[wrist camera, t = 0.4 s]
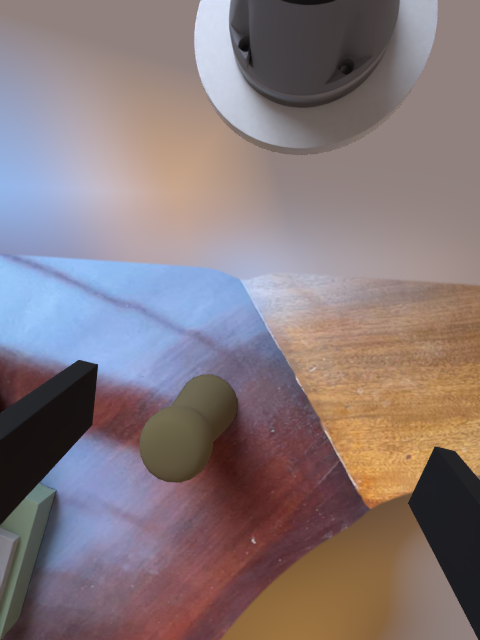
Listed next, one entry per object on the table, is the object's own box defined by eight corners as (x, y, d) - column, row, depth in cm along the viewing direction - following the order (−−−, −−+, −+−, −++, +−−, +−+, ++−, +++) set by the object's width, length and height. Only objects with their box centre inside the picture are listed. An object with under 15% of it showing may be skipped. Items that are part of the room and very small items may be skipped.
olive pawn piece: (250, 404, 31) (231, 455, 20) (209, 446, 32) (170, 517, 21) (206, 361, 32) (165, 389, 21) (167, 403, 32) (107, 451, 21)
